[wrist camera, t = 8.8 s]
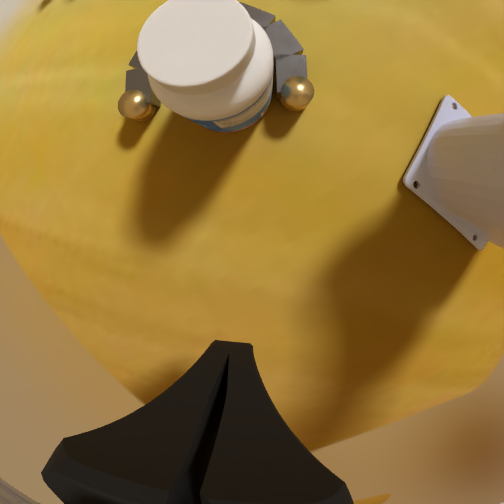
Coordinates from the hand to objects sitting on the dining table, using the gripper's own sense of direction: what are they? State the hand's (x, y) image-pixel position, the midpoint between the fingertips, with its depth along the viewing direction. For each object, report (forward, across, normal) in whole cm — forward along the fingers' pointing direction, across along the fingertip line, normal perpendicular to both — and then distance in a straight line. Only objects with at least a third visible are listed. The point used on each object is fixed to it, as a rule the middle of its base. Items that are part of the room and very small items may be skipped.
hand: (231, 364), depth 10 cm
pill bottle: (+10, +2, -11) cm, 16 cm away
